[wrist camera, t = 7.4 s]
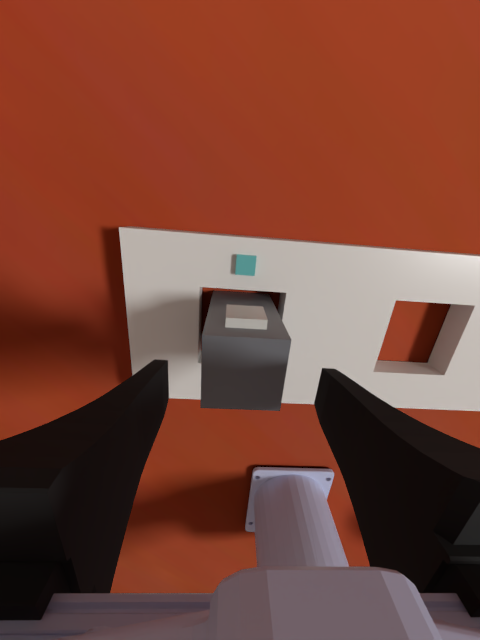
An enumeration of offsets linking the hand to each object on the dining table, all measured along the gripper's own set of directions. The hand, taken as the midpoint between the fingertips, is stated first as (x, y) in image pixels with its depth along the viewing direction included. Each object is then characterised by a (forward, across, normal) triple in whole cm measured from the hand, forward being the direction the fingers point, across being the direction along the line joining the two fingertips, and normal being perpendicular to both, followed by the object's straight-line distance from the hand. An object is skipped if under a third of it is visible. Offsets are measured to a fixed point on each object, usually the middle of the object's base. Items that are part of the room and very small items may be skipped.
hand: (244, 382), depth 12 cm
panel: (+8, -6, 0) cm, 10 cm away
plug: (+8, 0, 0) cm, 8 cm away
